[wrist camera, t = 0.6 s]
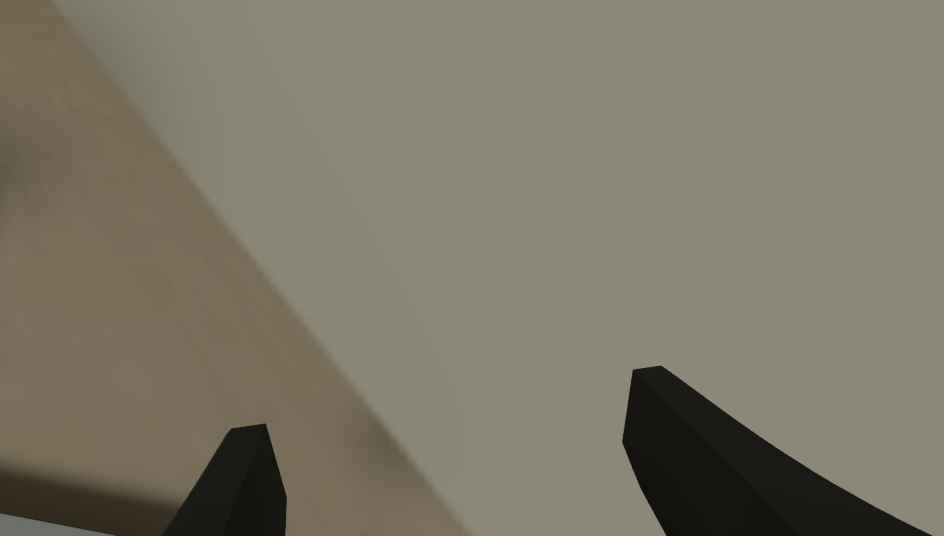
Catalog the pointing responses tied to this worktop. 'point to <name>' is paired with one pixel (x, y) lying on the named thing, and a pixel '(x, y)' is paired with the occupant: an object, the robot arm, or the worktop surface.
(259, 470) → the robot arm
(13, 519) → the tray
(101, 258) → the worktop surface
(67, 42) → the worktop surface
